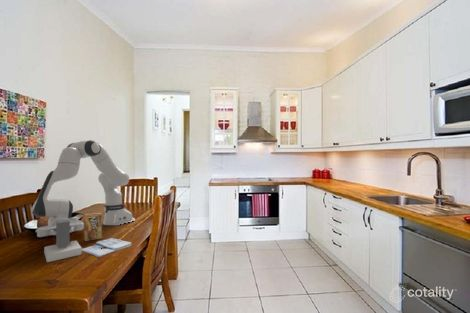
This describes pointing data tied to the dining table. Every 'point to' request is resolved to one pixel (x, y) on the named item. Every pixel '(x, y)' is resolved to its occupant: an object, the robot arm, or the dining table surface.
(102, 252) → the folded bicycle print cloth
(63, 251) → the white block
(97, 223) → the candy box
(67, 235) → the tall block
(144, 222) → the dining table surface
